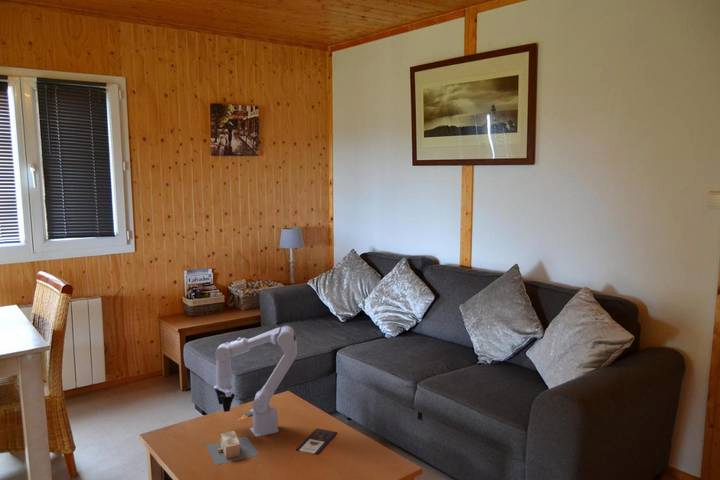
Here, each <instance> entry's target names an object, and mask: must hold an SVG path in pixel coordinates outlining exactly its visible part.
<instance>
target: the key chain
mask: <svg viewBox="0 0 720 480" xmlns="http://www.w3.org/2000/svg"><path fill="white" fill-rule="evenodd" d="M248 417H253V408H252V409H249V411H248V412H246V413H245V414H243V415H242V416H241V417H240V418H237V421H239V420H243V419H246V418H248Z"/></svg>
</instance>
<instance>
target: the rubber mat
mask: <svg viewBox="0 0 720 480" xmlns="http://www.w3.org/2000/svg"><path fill="white" fill-rule="evenodd" d="M237 438H238V441H239V443H240V456H235V457H231V458H227V459H226V457H225V455H224V452H221V453H218V449H219V448H222V447H221V441H220V442H216V443H211V444H207V445H205V447H206V449H207V452H208V453H209V455H210V457H211V460H212V461H213V464H214V466H219V465H223V464H228V463H233V462H235V461H239V460H243V459H248V458H253V457H256V456H259V455H260V454H259V452H258V451H257V449H256V448H255V446H254V444H253V443H252V442H251V440H250V439H249V437H248V436H243V437H237Z"/></svg>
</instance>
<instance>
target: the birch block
mask: <svg viewBox="0 0 720 480" xmlns="http://www.w3.org/2000/svg"><path fill="white" fill-rule="evenodd" d="M238 438H239V437H238V436H237V434H236V431H235V430H231V431H227V432H223V433H222V432H221V433H220V442H221V447H222V449H223V452H224V455H225V457H226V459H227V458H231V457H235V456H240V443H239V441H238Z"/></svg>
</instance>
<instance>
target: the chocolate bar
mask: <svg viewBox="0 0 720 480" xmlns="http://www.w3.org/2000/svg"><path fill="white" fill-rule="evenodd" d="M337 435H338V431H334V430H333V431H332V430H326V429H321V428H315V429H314V430H313V432H311V433H310V435H308V436H307V437H306V438H305V440H304V441H303V442H301V444H299V446H298V447H297V448H296V449H295V451H296V452H301V453H307V454H313V455H316V456H318V455H319V454H320V453H321V452H322V451H323V450H324V449H325V447H326V446H327V445H328V444H329V443H330V442H331V441H332V440H333V438H335V437H336V436H337Z"/></svg>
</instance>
